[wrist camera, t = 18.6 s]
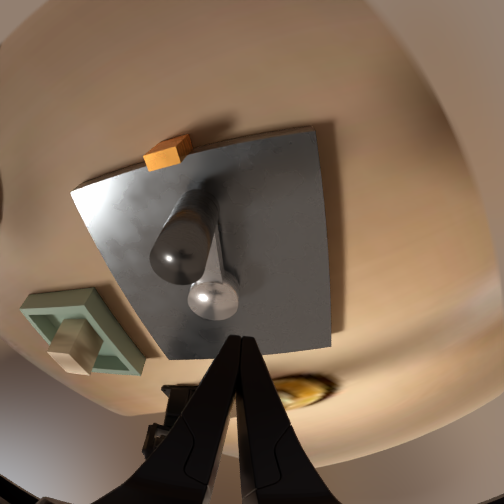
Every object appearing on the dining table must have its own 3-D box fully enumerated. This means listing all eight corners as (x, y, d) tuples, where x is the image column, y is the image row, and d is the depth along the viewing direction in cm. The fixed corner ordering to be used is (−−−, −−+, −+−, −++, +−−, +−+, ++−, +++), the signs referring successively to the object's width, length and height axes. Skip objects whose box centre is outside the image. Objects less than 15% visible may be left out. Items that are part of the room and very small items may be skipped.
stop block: (103, 341, 30) (89, 375, 26) (80, 340, 30) (66, 372, 26) (85, 318, 28) (68, 353, 24) (63, 319, 28) (46, 351, 24)
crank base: (329, 334, 28) (333, 359, 25) (171, 348, 30) (166, 371, 28) (308, 110, 16) (317, 118, 13) (75, 172, 18) (53, 189, 16)
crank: (241, 303, 23) (236, 369, 18) (197, 303, 23) (182, 367, 18) (227, 180, 17) (211, 237, 12) (169, 185, 17) (133, 240, 12)
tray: (146, 358, 32) (140, 375, 30) (78, 355, 34) (72, 369, 32) (94, 287, 25) (83, 305, 23) (28, 294, 27) (19, 309, 25)
